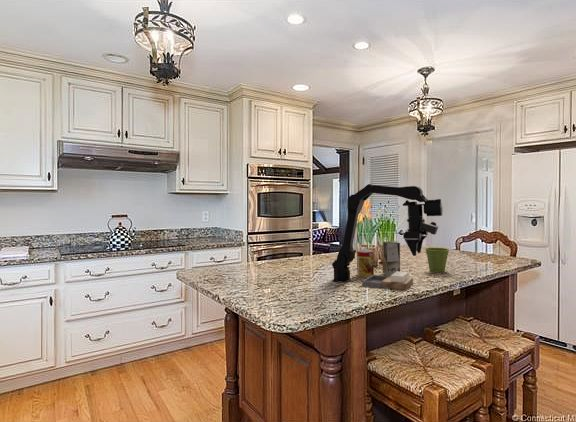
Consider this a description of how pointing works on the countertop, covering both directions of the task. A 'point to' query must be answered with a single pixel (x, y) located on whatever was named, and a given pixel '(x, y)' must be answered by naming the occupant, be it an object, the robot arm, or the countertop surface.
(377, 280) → the box
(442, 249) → the plant pot
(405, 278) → the cream tile
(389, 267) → the coffee box
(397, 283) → the plate
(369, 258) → the canned food
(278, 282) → the countertop surface
